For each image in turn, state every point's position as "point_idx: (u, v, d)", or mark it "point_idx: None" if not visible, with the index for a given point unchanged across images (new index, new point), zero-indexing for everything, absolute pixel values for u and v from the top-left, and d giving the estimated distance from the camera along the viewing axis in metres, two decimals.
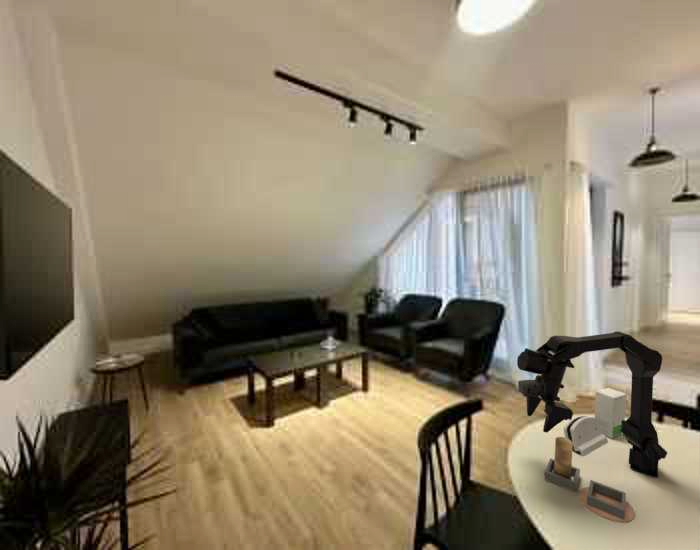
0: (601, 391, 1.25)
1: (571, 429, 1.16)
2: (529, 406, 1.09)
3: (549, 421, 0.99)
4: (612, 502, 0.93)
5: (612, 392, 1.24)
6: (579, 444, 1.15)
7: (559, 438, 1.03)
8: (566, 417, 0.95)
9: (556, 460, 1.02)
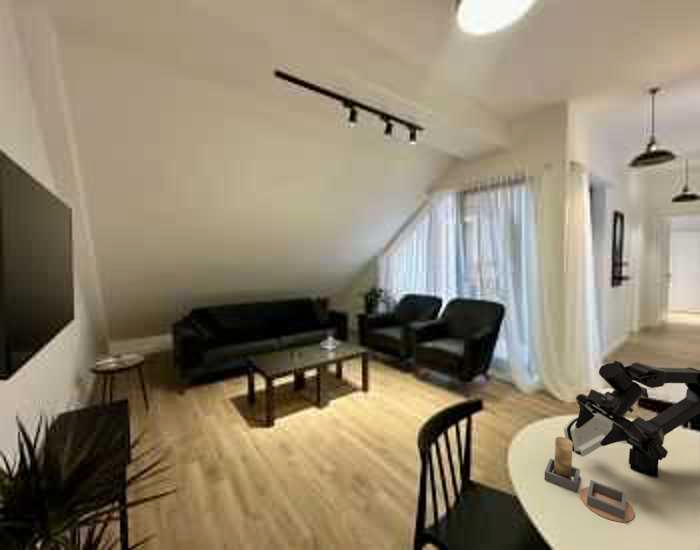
0: (601, 391, 1.25)
1: (571, 429, 1.16)
2: (581, 418, 1.07)
3: (613, 436, 0.96)
4: (612, 502, 0.93)
5: None
6: (579, 444, 1.15)
7: (559, 438, 1.03)
8: (637, 437, 0.93)
9: (556, 460, 1.02)
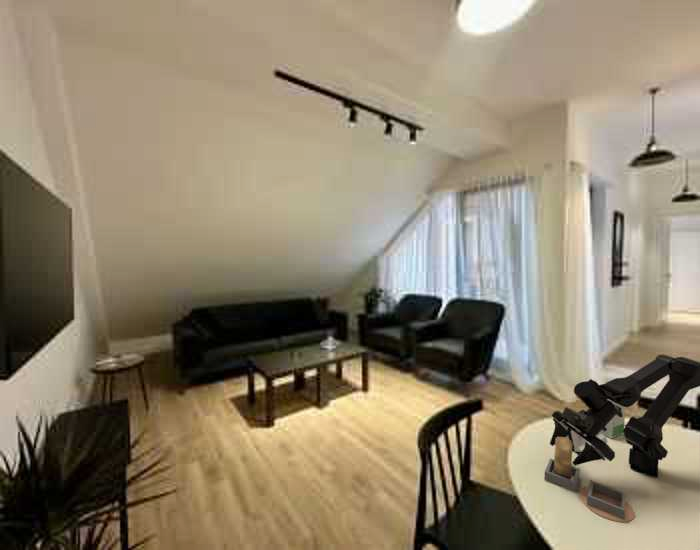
0: None
1: None
2: (556, 436, 1.06)
3: (585, 455, 0.96)
4: (612, 502, 0.93)
5: None
6: (579, 444, 1.15)
7: (559, 438, 1.03)
8: (608, 457, 0.93)
9: (556, 460, 1.02)
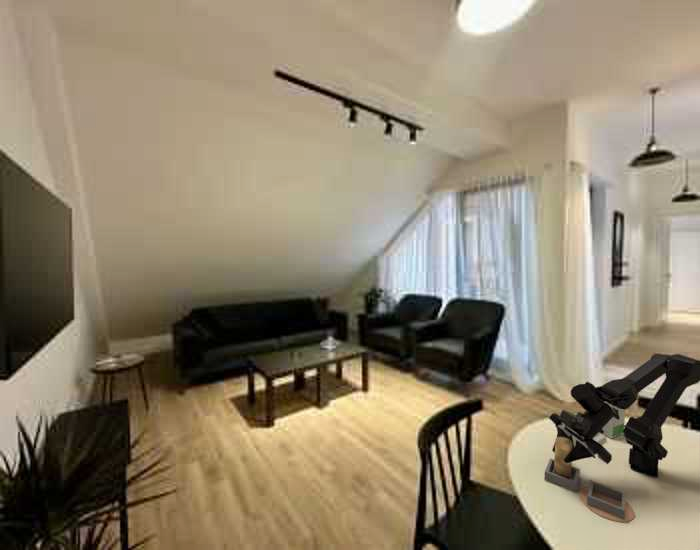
0: None
1: None
2: None
3: (576, 453, 0.98)
4: (612, 502, 0.93)
5: None
6: None
7: (559, 438, 1.03)
8: (605, 460, 0.93)
9: (556, 460, 1.02)
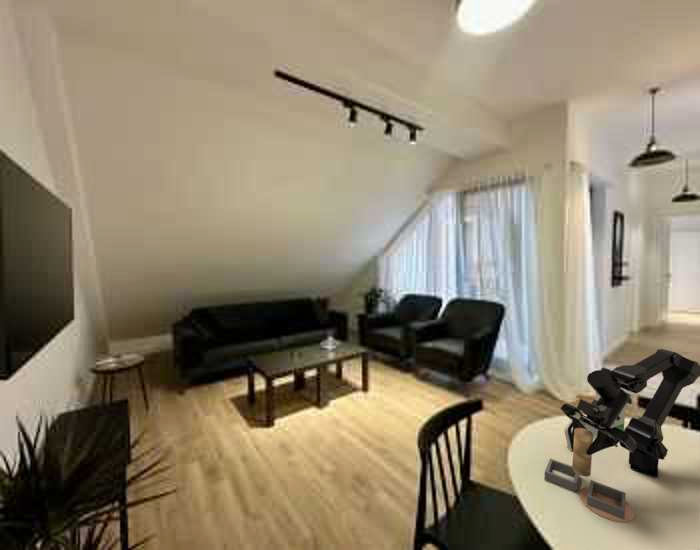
0: None
1: (572, 430, 1.15)
2: None
3: (599, 444, 0.93)
4: (612, 502, 0.93)
5: None
6: None
7: (577, 429, 0.97)
8: (631, 448, 0.88)
9: (576, 453, 0.96)
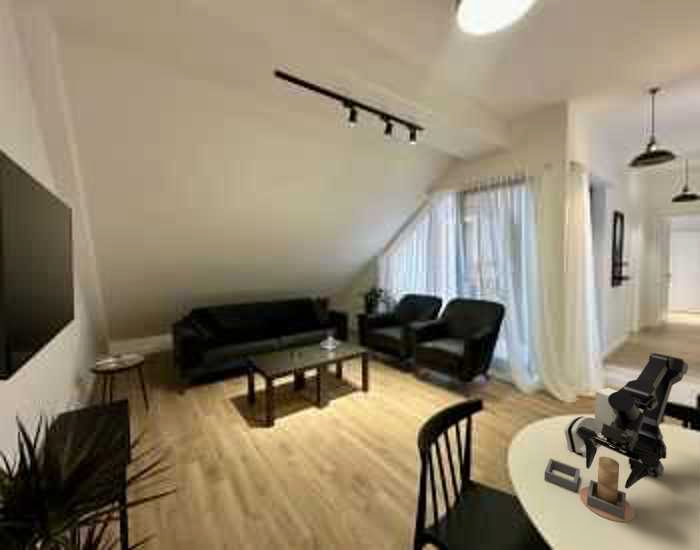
0: (601, 391, 1.25)
1: (572, 430, 1.15)
2: (590, 457, 0.95)
3: (637, 475, 0.87)
4: None
5: (612, 392, 1.24)
6: (580, 445, 1.14)
7: (602, 459, 0.92)
8: (661, 473, 0.86)
9: (603, 485, 0.91)
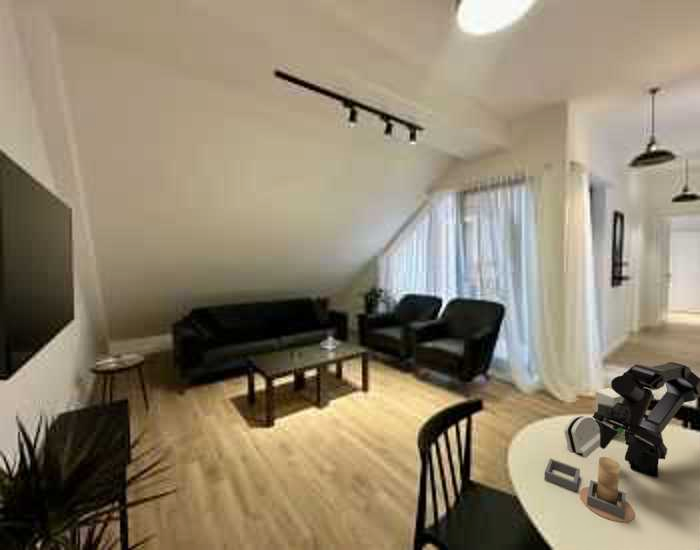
0: (601, 391, 1.25)
1: (572, 431, 1.15)
2: (603, 437, 1.04)
3: (634, 448, 0.93)
4: None
5: (612, 392, 1.24)
6: (580, 445, 1.14)
7: (602, 459, 0.92)
8: (656, 443, 0.90)
9: (604, 485, 0.91)
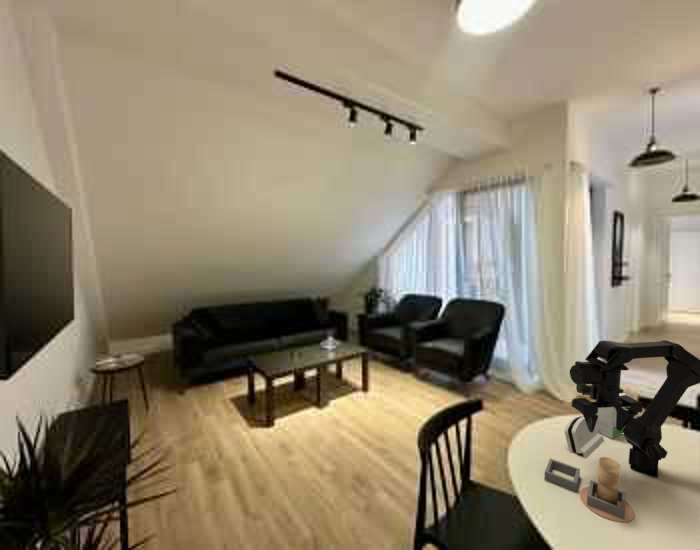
0: None
1: (572, 431, 1.15)
2: (617, 419, 1.05)
3: (585, 418, 1.04)
4: None
5: None
6: (581, 446, 1.14)
7: (602, 460, 0.92)
8: (580, 410, 1.02)
9: (604, 486, 0.91)
